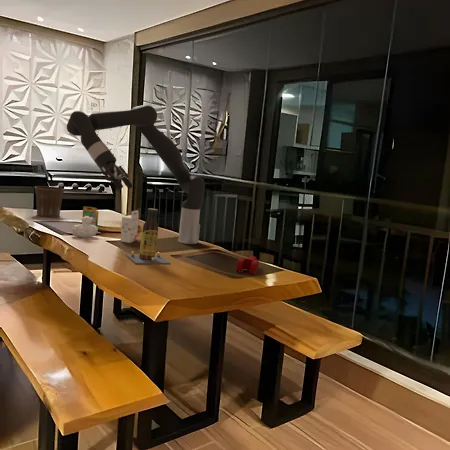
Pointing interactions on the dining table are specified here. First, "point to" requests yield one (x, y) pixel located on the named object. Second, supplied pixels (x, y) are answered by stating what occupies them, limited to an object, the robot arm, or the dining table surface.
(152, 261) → the brass pins
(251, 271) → the mechanical linkage
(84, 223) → the bust
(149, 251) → the sauce bottle
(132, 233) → the ink cartridge box
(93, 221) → the crayon box
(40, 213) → the plant pot
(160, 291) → the dining table surface
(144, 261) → the slate pad
